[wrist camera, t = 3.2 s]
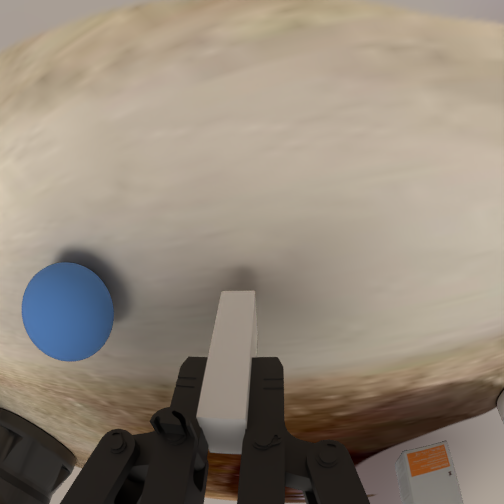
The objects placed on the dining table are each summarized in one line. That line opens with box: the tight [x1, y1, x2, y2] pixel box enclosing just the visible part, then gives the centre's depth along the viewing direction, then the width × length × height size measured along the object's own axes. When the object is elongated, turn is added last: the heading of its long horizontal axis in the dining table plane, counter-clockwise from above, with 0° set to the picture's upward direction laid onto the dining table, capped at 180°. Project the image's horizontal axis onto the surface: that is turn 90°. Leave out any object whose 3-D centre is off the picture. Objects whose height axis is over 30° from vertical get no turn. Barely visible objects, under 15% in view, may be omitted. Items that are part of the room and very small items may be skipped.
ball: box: [22, 262, 114, 361], centre depth 16 cm, size 6×6×6 cm
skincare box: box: [395, 441, 463, 504], centre depth 24 cm, size 6×4×12 cm
